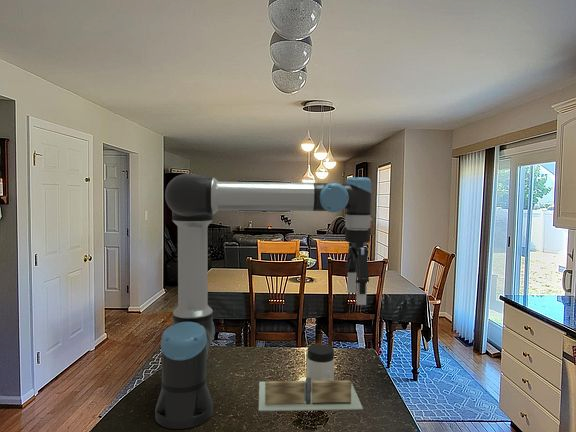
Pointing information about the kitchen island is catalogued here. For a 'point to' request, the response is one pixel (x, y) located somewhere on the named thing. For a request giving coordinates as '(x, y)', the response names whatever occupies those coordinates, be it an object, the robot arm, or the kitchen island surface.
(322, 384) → the fixed panel
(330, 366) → the jar
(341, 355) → the kitchen island surface
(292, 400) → the fence panel
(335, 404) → the board
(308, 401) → the hinge post
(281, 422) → the kitchen island surface
